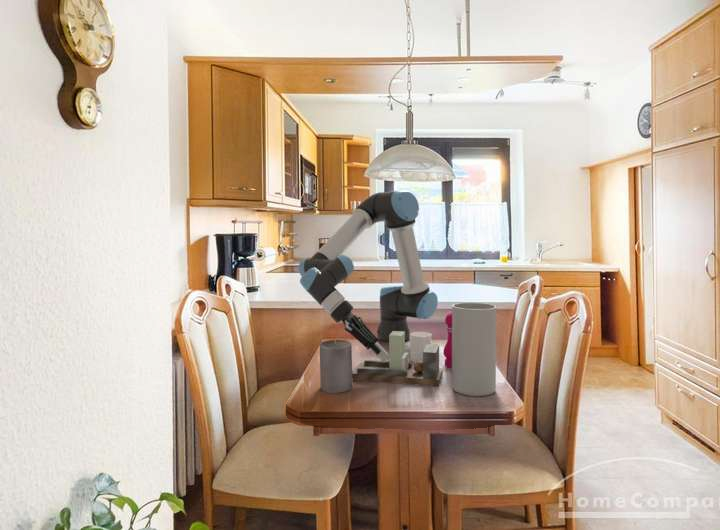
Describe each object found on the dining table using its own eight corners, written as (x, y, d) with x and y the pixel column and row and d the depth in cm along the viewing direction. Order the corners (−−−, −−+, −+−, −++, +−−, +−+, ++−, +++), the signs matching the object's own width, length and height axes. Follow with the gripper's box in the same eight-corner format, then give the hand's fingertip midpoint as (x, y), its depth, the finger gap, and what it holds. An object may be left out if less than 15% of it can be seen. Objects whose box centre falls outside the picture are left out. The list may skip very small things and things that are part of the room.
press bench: (350, 379, 146) (349, 348, 145) (360, 368, 158) (359, 340, 157) (439, 386, 139) (439, 353, 138) (442, 374, 150) (442, 344, 150)
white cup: (435, 360, 167) (435, 333, 166) (425, 365, 160) (425, 337, 159) (415, 357, 171) (415, 330, 170) (405, 362, 165) (405, 334, 164)
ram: (389, 372, 145) (388, 335, 144) (393, 366, 152) (393, 330, 151) (404, 373, 144) (404, 336, 143) (408, 367, 151) (408, 331, 150)
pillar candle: (328, 381, 145) (327, 334, 144) (357, 384, 141) (356, 336, 140) (314, 391, 136) (313, 342, 135) (345, 395, 132) (343, 344, 131)
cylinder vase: (468, 380, 144) (468, 301, 142) (503, 389, 135) (504, 305, 133) (443, 389, 136) (443, 306, 134) (479, 400, 127) (480, 311, 125)
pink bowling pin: (464, 368, 156) (464, 310, 155) (443, 367, 157) (443, 310, 156) (464, 362, 163) (464, 307, 162) (443, 361, 165) (443, 306, 163)
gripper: (336, 311, 159) (383, 361, 156) (323, 318, 146) (374, 373, 143) (350, 296, 157) (399, 346, 154) (339, 302, 145) (391, 357, 141)
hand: (387, 359), depth 149 cm, fingers closed
